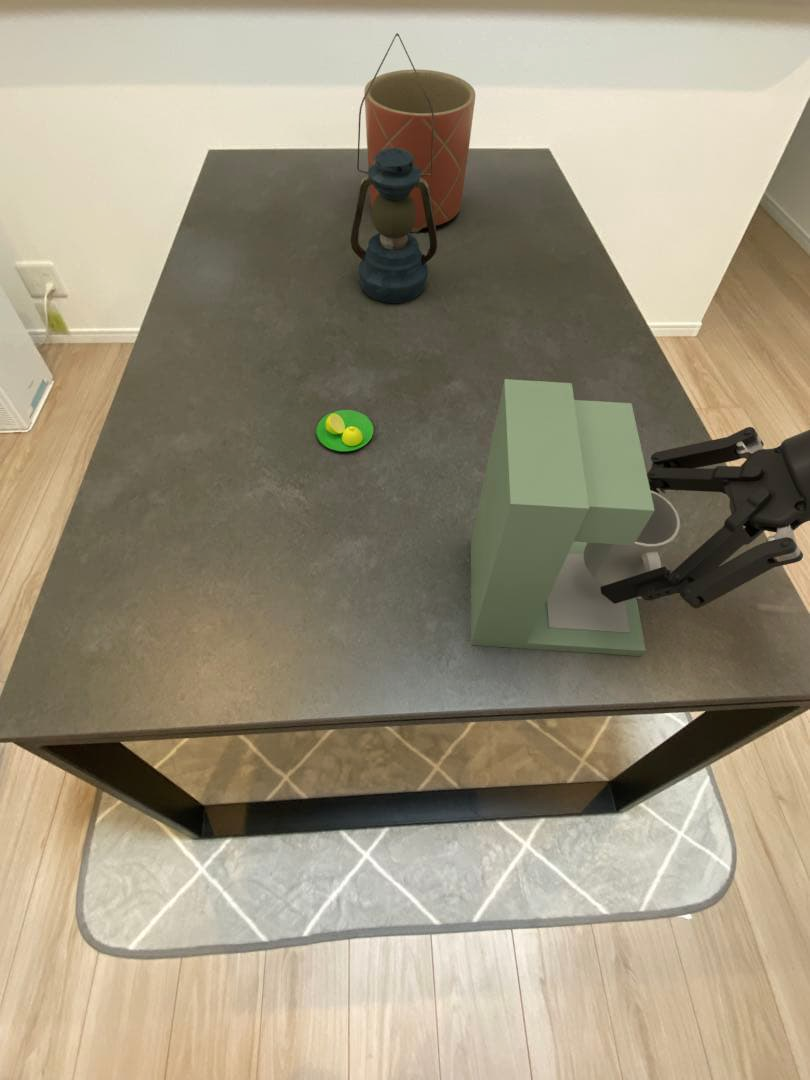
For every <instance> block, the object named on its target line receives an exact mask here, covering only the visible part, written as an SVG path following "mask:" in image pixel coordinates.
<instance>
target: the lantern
mask: <svg viewBox="0 0 810 1080" xmlns="http://www.w3.org/2000/svg"><path fill="white" fill-rule="evenodd" d="M396 37H398V38H399V41H400V44H401V45H402V48H403V49H404V51H405V54H406V57H407V58H408V61H409V62H410V66H411V67H412V70H414V71H415V74H416V76H417V78H418V80H419V82H420V84H421V87H422V89H423V91H424V93H425V95H426V97H427V100H428V102H429V104H430V107H431V112H432V157H431V172H430V174H424V175H421V172H420V169H419V168H418V167H417V166H416V165H414V157H413V155H412V154H411V153H410V152H408V151H407V150H403V149H400V148H388V149H384V150H381V151H379V152H378V153H377V154H376V156H375V164H373V165H372V166H371V167H370V168H369V167H368V170H367V171H365V170H362V169H360V168H359V166H360V146H361V145H360V144H361V118H362V117H361V115H362V108H363V105H364V103H365V98H366V96H367V94H368V92H369V90H370V88H371V86H372V84H373V82H374V80H375V78H376V77H378V76H377V75H378V73H379V72H380V70H381V67H382V65H383V64H384V62H385V59H386V57H387V56H388V54H389V51H390V50H391V47H392V46H393V44H394V41H395V39H396ZM408 53H409V52H408V51H407V49H406V47H405V44H404V43H403V40H402V38H401V36H400V34H399V33H395V35H394V36H393V39H392V41H391V43H390V45H389V47H388V49H387V51H386V53H385V54H384V57H383V58H382V61H381V62H380V65H379V66H378V68H377V70H376V72H375V74H374V76H373V78H372V79H373V80H372V79H371V80H372V82H371V84H370V86H369V88H368V90H367V92H366V94H365V95H364V96H363V97H362V100H361V103H360V106H359V111H358V112H359V113H358V135H357V161H356V162H357V167H356V168H357V171H358V172H360V173H363V174H367V175H365V176H363V178H362V180H361V182H360V186H359V191H358V196H357V201H356V207H355V212H354V217H353V222H352V226H351V234H350V246H351V249H352V251H353V252H354V254H355V255H356V256H357V257H358V258H359V259H361V260H360V261H359V263H358V279H359V282H360V284H361V287H362V288H363V289H362V290H363V291H364V292H365V293H366V295H367V296H369V297H370V298H371V299H373V300H375V301H378V302H381V303H386V304H403V303H407V302H410V301H412V300H414V299H416V298H418V297H419V296H420V295H421V293H422V291H423V290H424V288H425V286H426V284H427V281H428V277H429V276H428V275H429V266H428V264H427V263H428V262H429V261H431V259H432V258H433V257H434V256H435V254H436V253H437V249H438V235H437V234H438V233H437V228H436V226H435V222H434V216H433V210H432V204H431V198H430V192H429V187H428V184H427V182H426V181H425V180H424V179H422V178H420V177H421V176H428V175H431V173H432V163H433V126H434V114H433V108H432V105H431V102H430V100H429V98H428V96H427V93H426V91H425V89H424V87H423V85H422V83H421V81H420V79H419V76H418V74H417V72H416V70H417V69H416V68H415V65H414V64H413V62H412V59H411V57H410V55H409V54H408ZM371 184H373V186H374V187H375V188H376V189H377V190H378V192H379V195H378V196H377V197H376V198H375V200H374V203H373V207H371V212H372V215H371V216H372V223H373V227H374V229H376V231H377V233H375V234H373V236H371V237H370V239H369V240H368V242H367V243H368V244H367V247H366V249H364V248H363V247H362V246H361V245H360V243H359V235H360V226H361V222H362V217H363V212H364V207H365V202H366V199H367V198H366V197H367V192H368V189H369V188H370V185H371ZM415 187H418V188H419V189H420V191H421V194H422V200H423V205H424V211H425V216H426V222H427V227H426V228H427V232H428V238H429V239H428V240H429V248H428V250H426V251H425V252H424V253H423V254H422V250H421V249H420V246H419V245H420V244H419V241H418V239H417V238H416V237H415V236H414V235H412V234H410V233H411V232H410V231H411V230H412V229H413V227H414V224H415V219H416V209H415V204H414V200H413V199H412V198H411V197H410V195H409V194H410V192H411V190H413V189H414V188H415Z"/></svg>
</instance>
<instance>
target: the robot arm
mask: <svg viewBox="0 0 810 1080" xmlns="http://www.w3.org/2000/svg"><path fill="white" fill-rule="evenodd" d="M764 447H765V443H764V441H763V440H762V438H761V437H760V435H759V433H758V432H757V431H756V429H755V428H754V427H752V426H748V427H745V428H743V429H741V430H739V431H736V432H735V433H732V434H730V435H728V436H725V437H720V438H716V439H715V438H714V439H711V440H707V441H702V442H698V443H693V444H688V445H684V446H679V447H675V448H669V449H665V450H660V451H655V452H653V454H652V455H651V457H650V461H651V462H652V463H651V467H650V469H649V470H648V472H647V477H648V482H649V486H650V490H651V491H654V492H656V493H658V494H660V492H659V491H658V489H659V490H660V491H661V492H662V493H664V494H666V490H668V491H687V492H688V491H689V492H711V493H722V494H724V495H726V496H727V497H728V499H729V509H730V513H731V514H730V515H729V516H728V517H726V519H725V520H724V523H723V526H722V527H720V529H718V530H717V531H716V532H715V533H714V534H713V535H712V536H711V537H710V538H708V539H707V540H706V541H705V542H703V544H702V545H700V546H699V547H698V548H697V549H696V550H695V551H693V553H691V554H690V555H689V556H688V557H687V558H686V559H684V561H682V562H681V563H680V564H679V565H678V566H677V567H675V569H673V570H672V571H670V570H669V569H668V568H667V567H666V566H661V568H658V569H655V570H651V571H648V572H645V573H642V574H639V575H636V576H633V577H630V578H627V579H623V580H620V581H617V582H614V583H611V584H608V585H605V586H602V587H600V588H601V594H602V595H604V596H605V597H606V598H608V599H609V600H610V601H611V602H613V603H614V604H616V603H619V602H623V601H626V600H629V599H633V598H636V597H639V596H640V597H642V598H643V599H642V600H644V602H645V601H646V602H651V601H655V600H658V599H661V598H665V597H669V596H672V595H679V596H680V597H681V598H682V599H683V600H684V601H685V602H686V603H687V604H688V605H689V606H690V607H691V608H693V609H700V608H702V607H704V606H705V605H708V604H710V603H711V602H713V601H715V600H717V599H719V598H721V597H722V596H724V595H726V594H728V593H730V592H731V591H733V590H735V589H738V588H739V587H741V586H743V585H744V584H746V583H748V582H750V581H752V580H754V579H755V578H757V577H759V576H761V575H763V574H765V573H767V572H769V571H770V570H772V569H774V568H778V567H781V566H786V565H792V564H796V563H799V562H800V561H802V559H803V558H804V553H803V551H802V550H801V549H800V547H799V546H798V543H797V539H796V535H795V531H796V530H797V529H798V528H799V527H801V526H802V525H803V524H806V523H807V522H810V429H808V430H805V431H803V432H800V433H797V434H795V435H793V436H791V437H788V438H786V439H784V440H783V441H781V443H780V445H779V446H777V447H773V448H764ZM741 459H745V460H744V462H743V463H741V464H740V465H719V464H724V463H725V464H726V463H730V462H734V461H738V460H741ZM714 465H717V466H716V467H715V468H704V467H709V466H714ZM765 531H766V532H770V533H775V534H774V535H769V536H768V537H767V538H766V540H765V541H764V542H762V543H759V544H757V545H755V546H752V547H751V548H749V549H748V550H746V551H744V552H742V553H740V554H738V555H737V556H735V557H733V558H732V559H730V557H732V556H733V555H734V554H735V553H736V552H738V551H739V550H740V549H741V548H742V547H743V546H745V545H746V546H747V545H750V544H752V542H754V541H755V540H756V539H757V538H758V537H759V536H761V534H763V533H764V532H765ZM727 560H728V561H727ZM636 599H637V598H636Z"/></svg>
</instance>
